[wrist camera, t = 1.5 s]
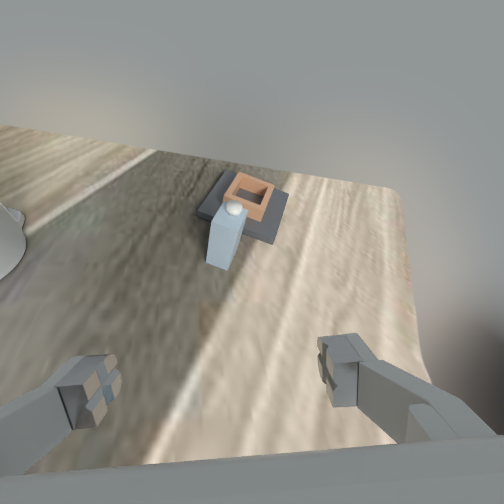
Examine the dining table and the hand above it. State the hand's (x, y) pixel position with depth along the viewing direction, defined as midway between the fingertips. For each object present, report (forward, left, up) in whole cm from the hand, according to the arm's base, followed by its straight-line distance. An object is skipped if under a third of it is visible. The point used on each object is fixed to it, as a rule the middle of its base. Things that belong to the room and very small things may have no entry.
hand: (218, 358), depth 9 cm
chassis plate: (-5, +37, -23) cm, 45 cm away
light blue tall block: (-5, +22, -24) cm, 33 cm away
